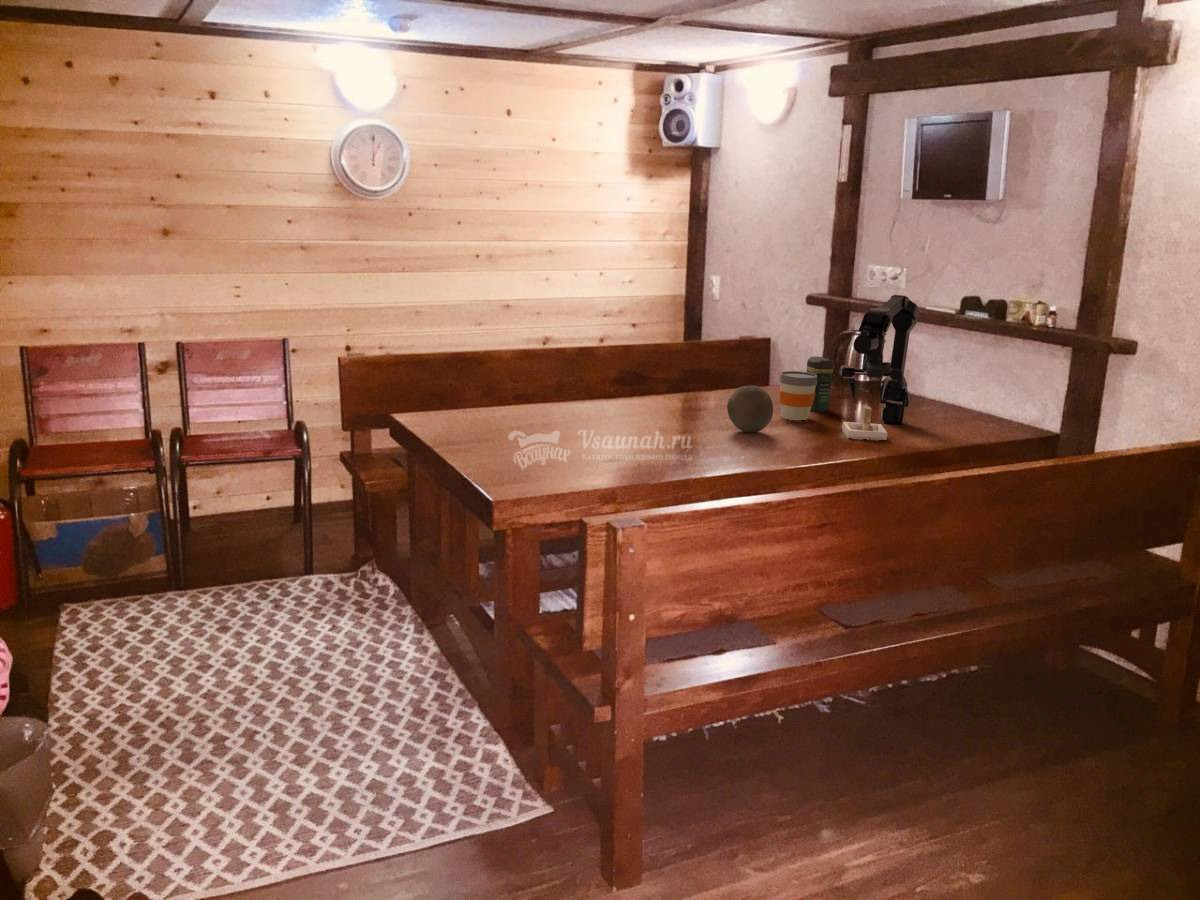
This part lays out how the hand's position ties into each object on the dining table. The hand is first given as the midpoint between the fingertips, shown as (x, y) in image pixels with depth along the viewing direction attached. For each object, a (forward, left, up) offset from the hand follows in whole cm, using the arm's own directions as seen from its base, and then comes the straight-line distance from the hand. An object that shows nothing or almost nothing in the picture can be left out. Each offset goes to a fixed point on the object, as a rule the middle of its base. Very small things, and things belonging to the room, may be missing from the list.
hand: (867, 399), depth 313 cm
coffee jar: (+11, -36, -12) cm, 40 cm away
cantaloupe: (+37, +7, -12) cm, 39 cm away
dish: (0, 0, -12) cm, 12 cm away
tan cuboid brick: (0, 0, -11) cm, 11 cm away
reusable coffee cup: (+20, -19, -12) cm, 30 cm away
